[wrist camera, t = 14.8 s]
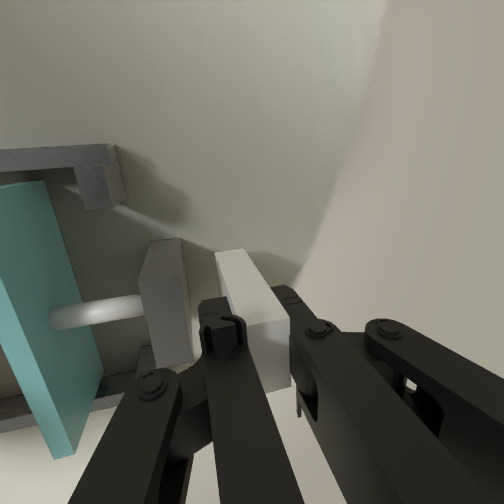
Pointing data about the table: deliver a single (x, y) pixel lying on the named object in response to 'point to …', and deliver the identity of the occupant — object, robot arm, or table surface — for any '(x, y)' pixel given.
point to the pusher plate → (74, 314)
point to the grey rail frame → (94, 198)
